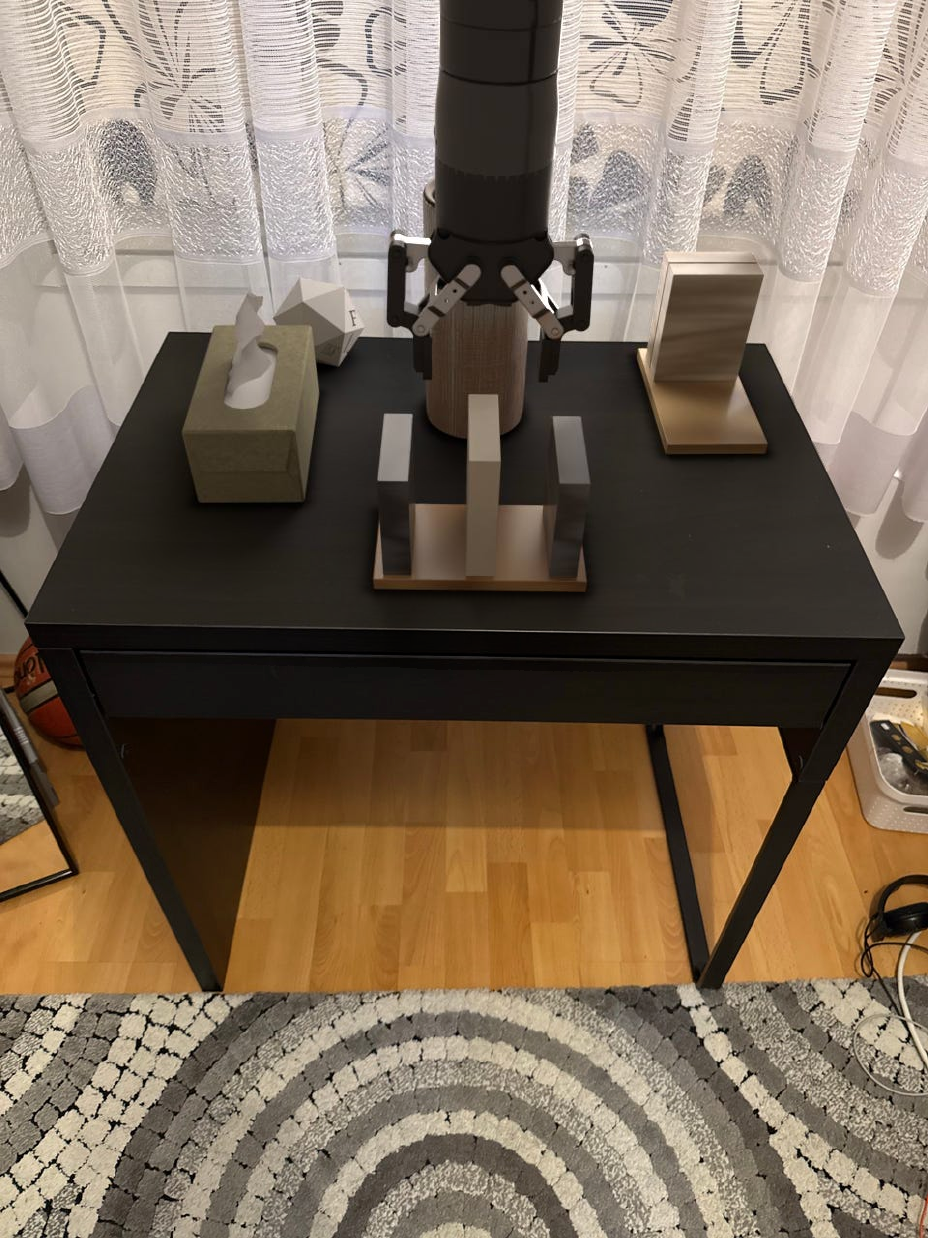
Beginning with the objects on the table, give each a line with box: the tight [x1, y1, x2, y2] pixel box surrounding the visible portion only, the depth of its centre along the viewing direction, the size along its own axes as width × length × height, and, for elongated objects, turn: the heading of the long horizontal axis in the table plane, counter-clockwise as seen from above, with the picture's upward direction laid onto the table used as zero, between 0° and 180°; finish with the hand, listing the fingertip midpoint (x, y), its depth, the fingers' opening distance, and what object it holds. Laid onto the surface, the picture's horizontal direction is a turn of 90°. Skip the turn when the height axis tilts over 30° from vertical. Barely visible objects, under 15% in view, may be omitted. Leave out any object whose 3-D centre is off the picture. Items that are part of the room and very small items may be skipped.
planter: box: [422, 177, 531, 440], centre depth 89 cm, size 10×10×23 cm
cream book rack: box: [636, 251, 769, 455], centre depth 94 cm, size 18×10×13 cm, turn 2°
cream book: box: [465, 394, 502, 576], centre depth 77 cm, size 2×9×12 cm, turn 0°
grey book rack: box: [372, 413, 592, 593], centre depth 78 cm, size 18×10×11 cm, turn 90°
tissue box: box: [181, 291, 320, 504], centre depth 87 cm, size 19×10×16 cm, turn 2°
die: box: [272, 277, 366, 367], centre depth 101 cm, size 8×9×10 cm
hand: (485, 375), depth 70 cm, fingers open, 8 cm apart
